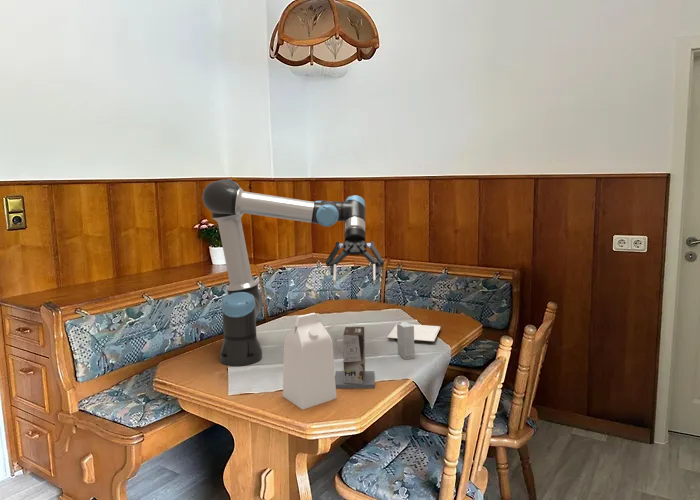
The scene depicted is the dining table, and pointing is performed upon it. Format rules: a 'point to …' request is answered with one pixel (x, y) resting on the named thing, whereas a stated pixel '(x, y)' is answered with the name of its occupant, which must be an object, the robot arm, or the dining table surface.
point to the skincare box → (405, 340)
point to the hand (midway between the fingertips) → (354, 282)
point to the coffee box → (354, 355)
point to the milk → (308, 363)
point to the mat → (367, 383)
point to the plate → (419, 333)
